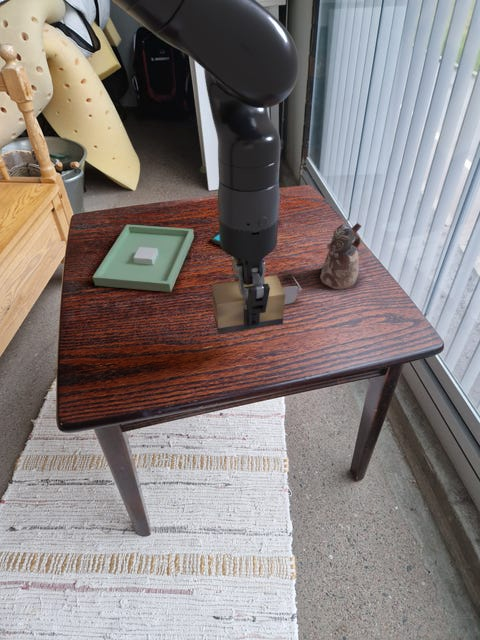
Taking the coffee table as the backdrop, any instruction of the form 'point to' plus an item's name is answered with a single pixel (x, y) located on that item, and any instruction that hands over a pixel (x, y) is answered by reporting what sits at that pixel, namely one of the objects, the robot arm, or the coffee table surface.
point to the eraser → (232, 310)
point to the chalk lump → (145, 255)
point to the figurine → (342, 258)
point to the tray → (154, 277)
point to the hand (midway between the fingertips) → (247, 312)
